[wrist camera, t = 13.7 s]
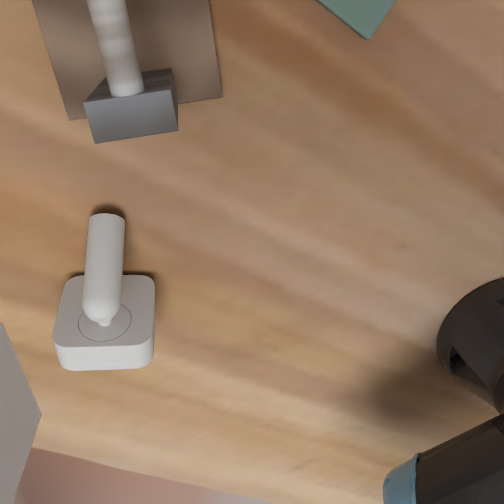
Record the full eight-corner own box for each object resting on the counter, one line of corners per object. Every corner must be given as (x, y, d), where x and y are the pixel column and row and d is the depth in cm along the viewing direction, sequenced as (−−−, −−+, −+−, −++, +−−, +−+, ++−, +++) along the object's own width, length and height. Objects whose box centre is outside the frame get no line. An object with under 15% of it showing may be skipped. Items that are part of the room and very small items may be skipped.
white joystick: (153, 205, 41) (148, 287, 34) (156, 285, 48) (153, 368, 41) (57, 203, 40) (30, 289, 32) (75, 286, 47) (56, 372, 39)
